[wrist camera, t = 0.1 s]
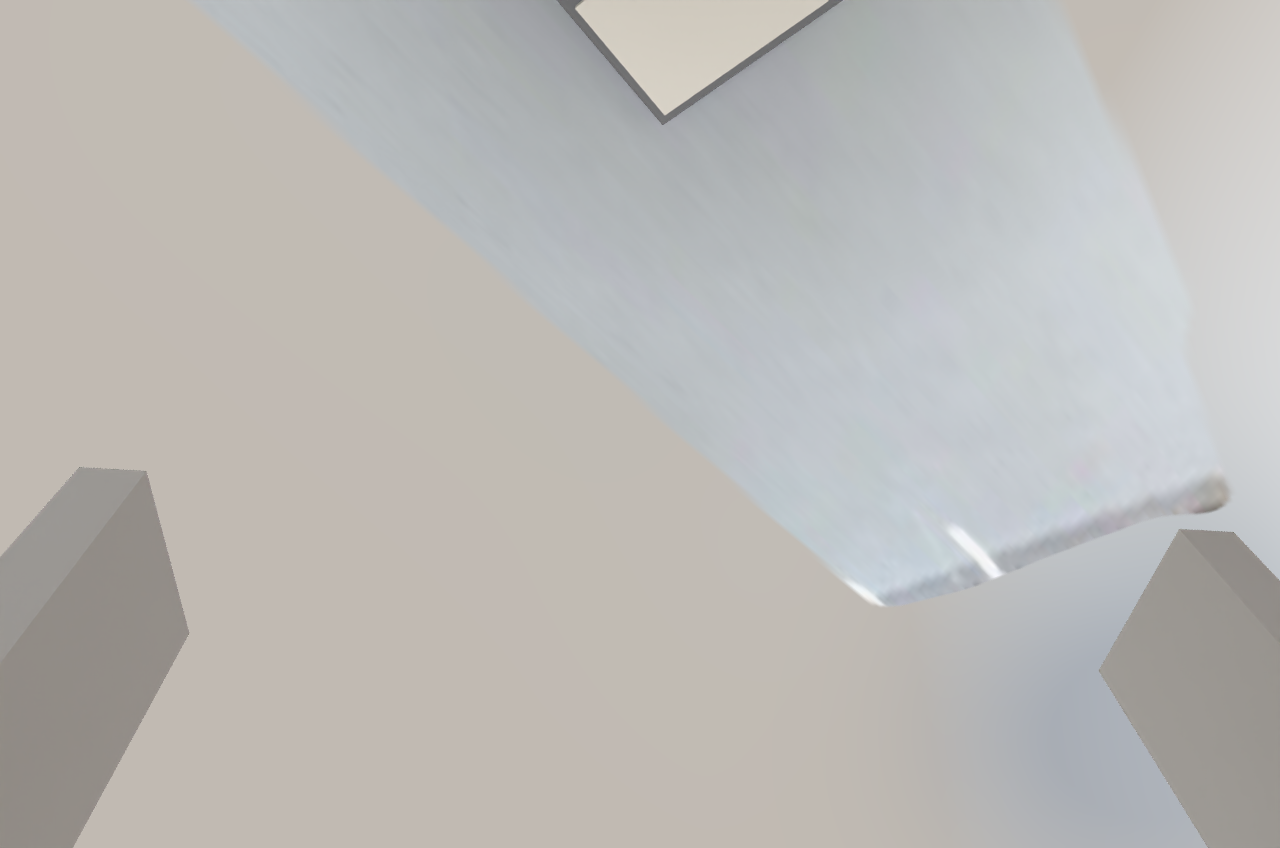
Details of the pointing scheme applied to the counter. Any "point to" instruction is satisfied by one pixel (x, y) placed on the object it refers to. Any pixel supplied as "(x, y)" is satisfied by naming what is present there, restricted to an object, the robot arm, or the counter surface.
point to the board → (687, 41)
